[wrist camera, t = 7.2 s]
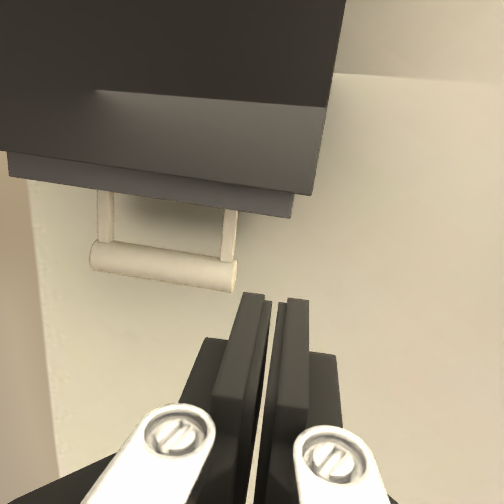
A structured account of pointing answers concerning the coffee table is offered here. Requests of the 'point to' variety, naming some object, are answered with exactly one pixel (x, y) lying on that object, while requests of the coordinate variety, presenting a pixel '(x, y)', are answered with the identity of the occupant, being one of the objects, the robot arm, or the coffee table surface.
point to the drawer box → (172, 85)
